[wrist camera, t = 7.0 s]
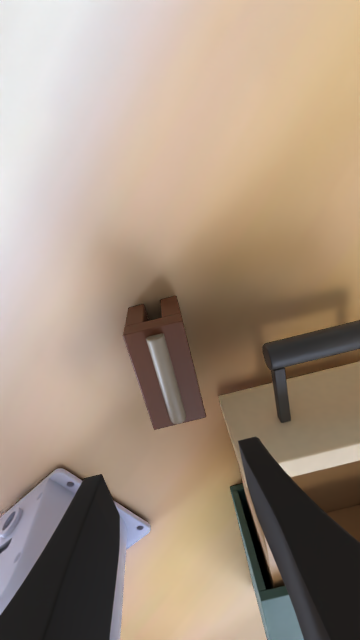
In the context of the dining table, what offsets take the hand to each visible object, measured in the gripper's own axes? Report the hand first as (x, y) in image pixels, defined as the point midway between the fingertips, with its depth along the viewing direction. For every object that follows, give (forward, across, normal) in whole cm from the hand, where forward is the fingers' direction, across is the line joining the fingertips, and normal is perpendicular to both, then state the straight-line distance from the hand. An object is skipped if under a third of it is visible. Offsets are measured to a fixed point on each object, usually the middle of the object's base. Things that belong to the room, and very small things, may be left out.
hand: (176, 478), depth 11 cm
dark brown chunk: (+10, 0, 0) cm, 10 cm away
